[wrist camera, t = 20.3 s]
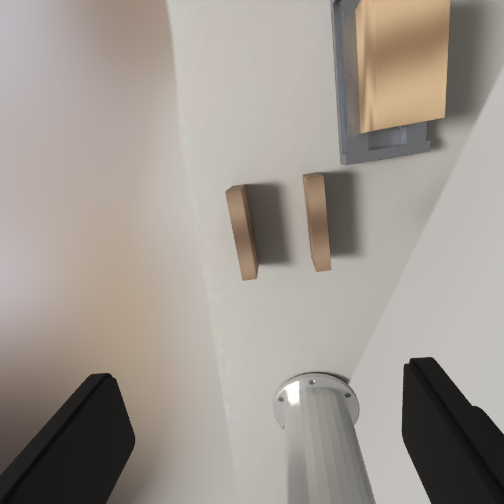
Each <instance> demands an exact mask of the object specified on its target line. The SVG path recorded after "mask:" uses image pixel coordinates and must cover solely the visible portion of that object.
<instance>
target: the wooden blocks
mask: <svg viewBox="0 0 504 504" xmlns="http://www.w3.org/2000/svg"><path fill="white" fill-rule="evenodd" d="M303 182H304V192H305V201H306V211H307V220H308V230H309V239H310V249H311V258H312V261H313V263H314V266H315V269H316V272H319V271H327V270H331V260H330V247H329V235H328V223H327V211H326V198H325V186H324V176H323V175H321V174H319V173H311V174H305V175H303ZM225 193H226V198H227V203H228V208H229V213H230V218H231V223H232V229H233V234H234V239H235V244H236V249H237V254H238V259H239V264H240V269H241V275H242V280H252V279H257V273H258V266H259V262H258V256H257V250H256V244H255V238H254V232H253V227H252V221H251V215H250V209H249V203H248V197H247V191H246V186H245V184H244V185H238V186H232V187H231V188H229V189H228V190H227V191H226V192H225Z"/></svg>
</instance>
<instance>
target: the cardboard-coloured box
mask: <svg viewBox="0 0 504 504" xmlns="http://www.w3.org/2000/svg"><path fill="white" fill-rule="evenodd" d="M449 19H450V0H361V1H360V2H359V4H358V6H357V8H356V33H357V58H358V82H359V106H360V130H361V133H366V132H372V131H377V130H383V129H388V128H394V127H399V126H405V125H410V124H415V123H420V122H425V121H430V120H435V119H440V118H445V103H446V82H447V61H448V40H449Z"/></svg>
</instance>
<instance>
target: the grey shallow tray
mask: <svg viewBox="0 0 504 504" xmlns="http://www.w3.org/2000/svg"><path fill="white" fill-rule="evenodd" d="M360 1H361V0H331V16H332V32H333V48H334V65H335V81H336V97H337V113H338V129H339V146H340V162H341V164H344V165H349V164H355V163H361V162H367V161H373V160H379V159H385V158H391V157H397V156H403V155H409V154H415V153H421V152H427V151H430V147H431V140H426V136H427V121H425V122H420V123H415V124H410V125H405V126H399V127H394V128H388V129H383V130H377V131H372V132H366V133H361V130H360V106H359V82H358V58H357V33H356V8H357V6H358V4H359V2H360Z"/></svg>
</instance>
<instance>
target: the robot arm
mask: <svg viewBox="0 0 504 504" xmlns="http://www.w3.org/2000/svg"><path fill="white" fill-rule="evenodd" d="M273 412H274V417H275V419H276V421H277V423H278V424H279V425H280V427H281V428H282V429H283V430H284V433H285V463H286V494H287V504H376V502H375V499H374V495H373V492H372V488H371V485H370V482H369V478H368V474H367V471H366V467H365V464H364V461H363V457H362V453H361V450H360V446H359V443H358V439H357V436H356V432H355V429H354V424H355V423H356V421H357V419H358V416H359V403H358V400H357V397H356V395H355V393H354V391H353V390H352V389H351V387H350V386H349V385H348V384H346V383H345V382H343V381H342V380H340V379H338V378H336V377H334V376H330V375H327V374H319V373H311V374H304V375H300V376H297V377H294V378H292V379H290V380H288V381H287V382H285V383H284V384H283V385H282V386H281V387H280V388H279V390H278V391H277V393H276V395H275V397H274V402H273ZM402 437H403V441H404V443H405V446H406V448H407V450H408V453H409V455H410V457H411V459H412V462H413V464H414V466H415V468H416V471H417V473H418V475H419V477H420V479H421V481H422V484H423V486H424V488H425V490H426V492H427V495H428V497H429V499H430V502H431V504H504V434H503V433H502V432H501V431H500V430H499V428H498V427H497V426H496V425H495V424H494V422H493V421H492V420H491V419H490V417H489V416H488V415H487V414H486V413H485V412H484V411H483V410H482V409H481V408H479V407H477V406H472V405H471V404H470V403H469V401H468V400H467V399H466V398H465V396H464V395H463V394H462V393H461V392H460V390H459V389H458V388H457V386H456V385H455V384H454V383H453V381H452V380H451V379H450V378H449V376H448V375H447V374H446V373H445V371H444V370H443V369H442V368H441V366H440V365H439V364H438V363H437V361H436V360H435V359H434V358H432V357H425V358H411V359H410V362H409V364H405V365H404V377H403V407H402ZM134 445H135V435H134V432H133V429H132V426H131V423H130V420H129V417H128V414H127V411H126V408H125V404H124V402H123V398H122V396H121V392H120V389H119V386H118V384H117V381H116V379H115V378H113V377H112V375H111V374H109V373H101V374H91V375H90V376H89V377H88V378H87V379H86V380H85V381H84V382H83V383H82V384H81V385H80V386H79V388H78V389H77V390H76V391H75V392H74V393H73V394H72V395H71V397H70V398H69V399H68V400H67V401H66V402H65V404H63V406H62V407H61V408H60V409H59V410H58V411H57V412H56V413H55V415H54V416H53V417H52V418H51V419H50V420H49V421H48V422H47V424H46V425H45V426H44V427H43V428H42V429H41V430H40V432H39V433H38V434H37V435H36V436H35V437H34V438H33V439H32V440H31V442H30V443H29V444H28V445H27V446H26V447H25V448H24V450H23V451H22V452H21V453H20V454H19V455H18V456H17V457H16V458H15V460H14V461H13V462H12V463H11V464H10V465H9V466H8V468H7V469H6V470H5V471H4V472H3V473H2V474H1V475H0V504H106V502H107V500H108V498H109V496H110V494H111V492H112V490H113V488H114V486H115V484H116V482H117V480H118V478H119V476H120V474H121V472H122V470H123V468H124V466H125V464H126V462H127V460H128V459H129V456H130V455H131V452H132V451H133V448H134Z"/></svg>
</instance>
